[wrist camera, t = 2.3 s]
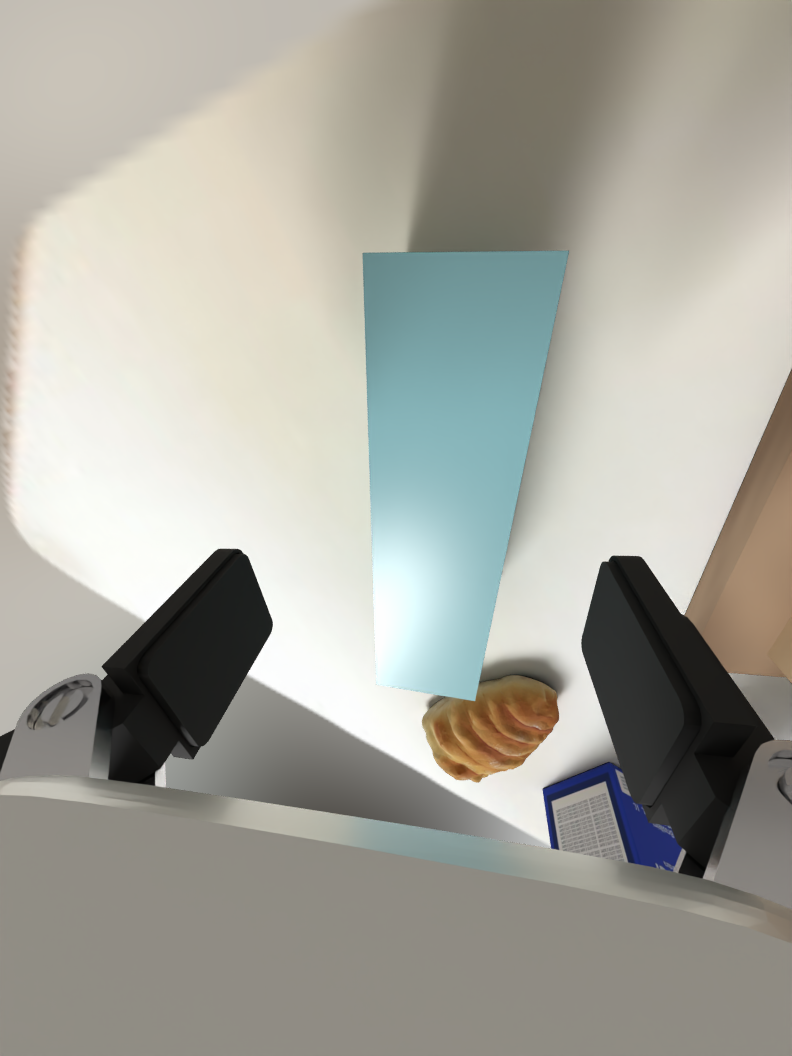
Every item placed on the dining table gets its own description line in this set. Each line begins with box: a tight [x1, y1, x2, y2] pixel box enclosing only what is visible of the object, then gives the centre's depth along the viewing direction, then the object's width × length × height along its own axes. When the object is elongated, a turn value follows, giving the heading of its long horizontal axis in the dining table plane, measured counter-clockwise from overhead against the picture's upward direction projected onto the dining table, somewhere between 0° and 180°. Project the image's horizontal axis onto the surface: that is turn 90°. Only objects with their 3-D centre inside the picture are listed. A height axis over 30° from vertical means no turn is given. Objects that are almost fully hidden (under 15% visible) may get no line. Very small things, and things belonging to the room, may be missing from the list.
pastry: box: [422, 675, 559, 783], centre depth 24 cm, size 9×7×4 cm
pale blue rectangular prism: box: [363, 251, 569, 701], centre depth 15 cm, size 4×16×6 cm, turn 0°
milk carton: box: [543, 762, 682, 872], centre depth 20 cm, size 7×7×20 cm
